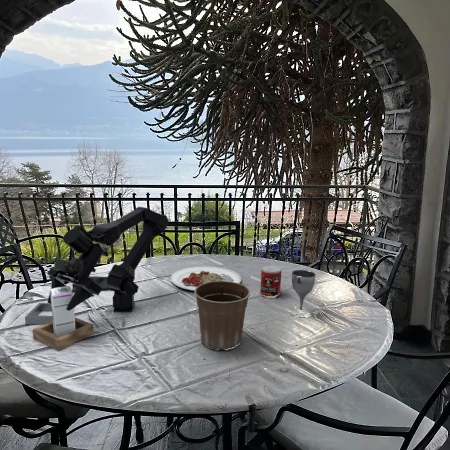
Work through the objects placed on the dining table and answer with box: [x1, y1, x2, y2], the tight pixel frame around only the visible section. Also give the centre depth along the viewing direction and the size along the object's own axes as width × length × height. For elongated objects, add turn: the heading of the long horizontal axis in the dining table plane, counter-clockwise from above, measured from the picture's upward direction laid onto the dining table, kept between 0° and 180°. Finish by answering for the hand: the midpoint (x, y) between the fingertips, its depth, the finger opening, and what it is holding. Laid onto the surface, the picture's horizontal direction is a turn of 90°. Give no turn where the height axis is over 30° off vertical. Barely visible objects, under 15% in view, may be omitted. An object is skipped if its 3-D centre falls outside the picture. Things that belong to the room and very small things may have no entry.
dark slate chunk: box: [71, 275, 111, 292], centre depth 158 cm, size 15×22×5 cm
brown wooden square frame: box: [32, 317, 95, 351], centre depth 116 cm, size 12×12×3 cm
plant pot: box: [194, 281, 251, 350], centre depth 115 cm, size 16×16×16 cm
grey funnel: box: [291, 269, 317, 310], centre depth 135 cm, size 8×8×15 cm
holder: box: [24, 302, 53, 325], centre depth 128 cm, size 11×11×2 cm
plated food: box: [170, 266, 242, 291], centre depth 166 cm, size 30×30×3 cm
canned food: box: [259, 265, 282, 296], centre depth 152 cm, size 8×8×11 cm
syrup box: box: [49, 285, 76, 337], centre depth 115 cm, size 6×6×14 cm
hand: (58, 306), depth 113 cm, fingers open, 8 cm apart
